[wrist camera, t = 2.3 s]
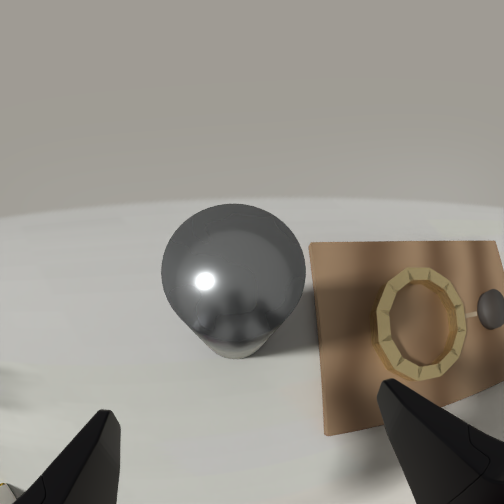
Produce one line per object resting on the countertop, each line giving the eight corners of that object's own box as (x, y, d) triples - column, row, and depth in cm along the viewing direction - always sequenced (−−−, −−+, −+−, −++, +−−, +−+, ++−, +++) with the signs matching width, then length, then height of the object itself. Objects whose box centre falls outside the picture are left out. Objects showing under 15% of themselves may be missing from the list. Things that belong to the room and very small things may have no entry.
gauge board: (490, 243, 24) (500, 236, 23) (513, 373, 19) (525, 371, 17) (308, 246, 23) (313, 236, 21) (324, 434, 18) (331, 439, 16)
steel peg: (279, 338, 20) (332, 293, 9) (221, 370, 19) (202, 367, 8) (247, 284, 22) (259, 184, 11) (190, 313, 21) (140, 240, 9)
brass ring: (470, 336, 20) (479, 333, 19) (405, 402, 18) (413, 403, 17) (422, 255, 22) (430, 249, 21) (349, 308, 20) (355, 304, 19)
